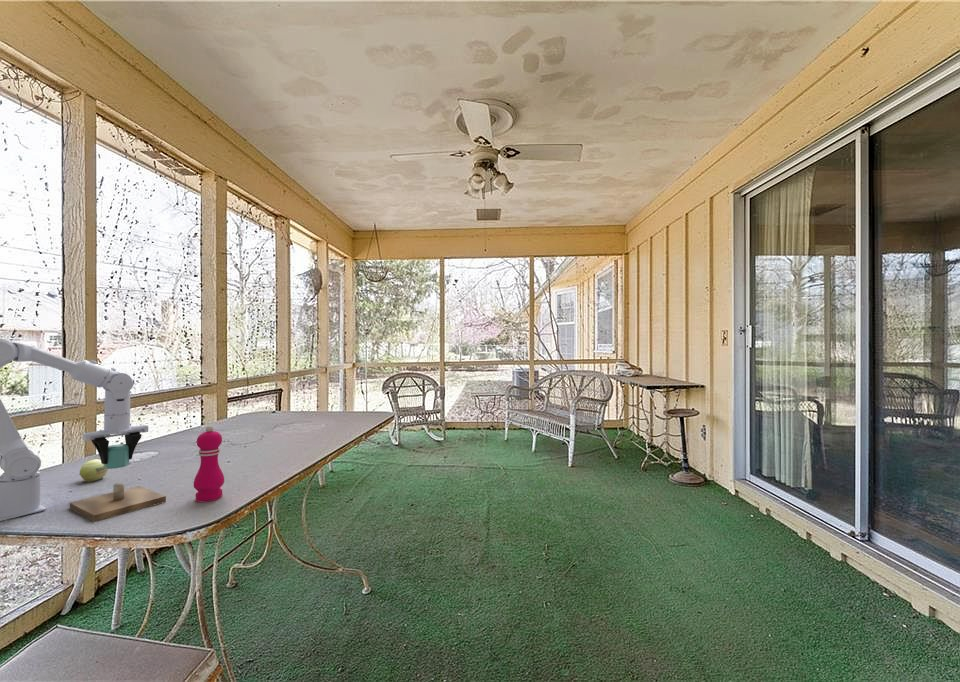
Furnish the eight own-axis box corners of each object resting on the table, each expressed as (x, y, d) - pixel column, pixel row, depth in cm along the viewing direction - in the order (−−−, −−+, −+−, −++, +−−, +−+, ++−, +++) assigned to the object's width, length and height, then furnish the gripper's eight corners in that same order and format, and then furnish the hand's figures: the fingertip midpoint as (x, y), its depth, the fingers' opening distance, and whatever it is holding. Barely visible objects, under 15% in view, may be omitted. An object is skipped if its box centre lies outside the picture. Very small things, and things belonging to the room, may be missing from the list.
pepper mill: (218, 491, 123) (219, 422, 123) (228, 497, 118) (229, 425, 118) (189, 498, 117) (190, 425, 117) (198, 504, 112) (199, 429, 113)
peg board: (94, 521, 102) (94, 498, 102) (69, 508, 110) (69, 487, 110) (165, 501, 115) (166, 481, 115) (139, 491, 123) (139, 472, 123)
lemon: (92, 461, 130) (112, 455, 137) (71, 464, 130) (91, 458, 137) (95, 482, 130) (114, 475, 137) (74, 485, 130) (94, 478, 137)
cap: (109, 469, 119) (109, 448, 119) (102, 467, 121) (102, 446, 122) (131, 465, 123) (131, 445, 123) (123, 462, 126) (123, 443, 126)
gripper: (90, 419, 114) (89, 469, 114) (153, 411, 127) (152, 457, 127) (80, 416, 118) (79, 465, 118) (142, 409, 130) (142, 454, 130)
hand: (116, 461), depth 122 cm, fingers closed on cap, 5 cm apart
